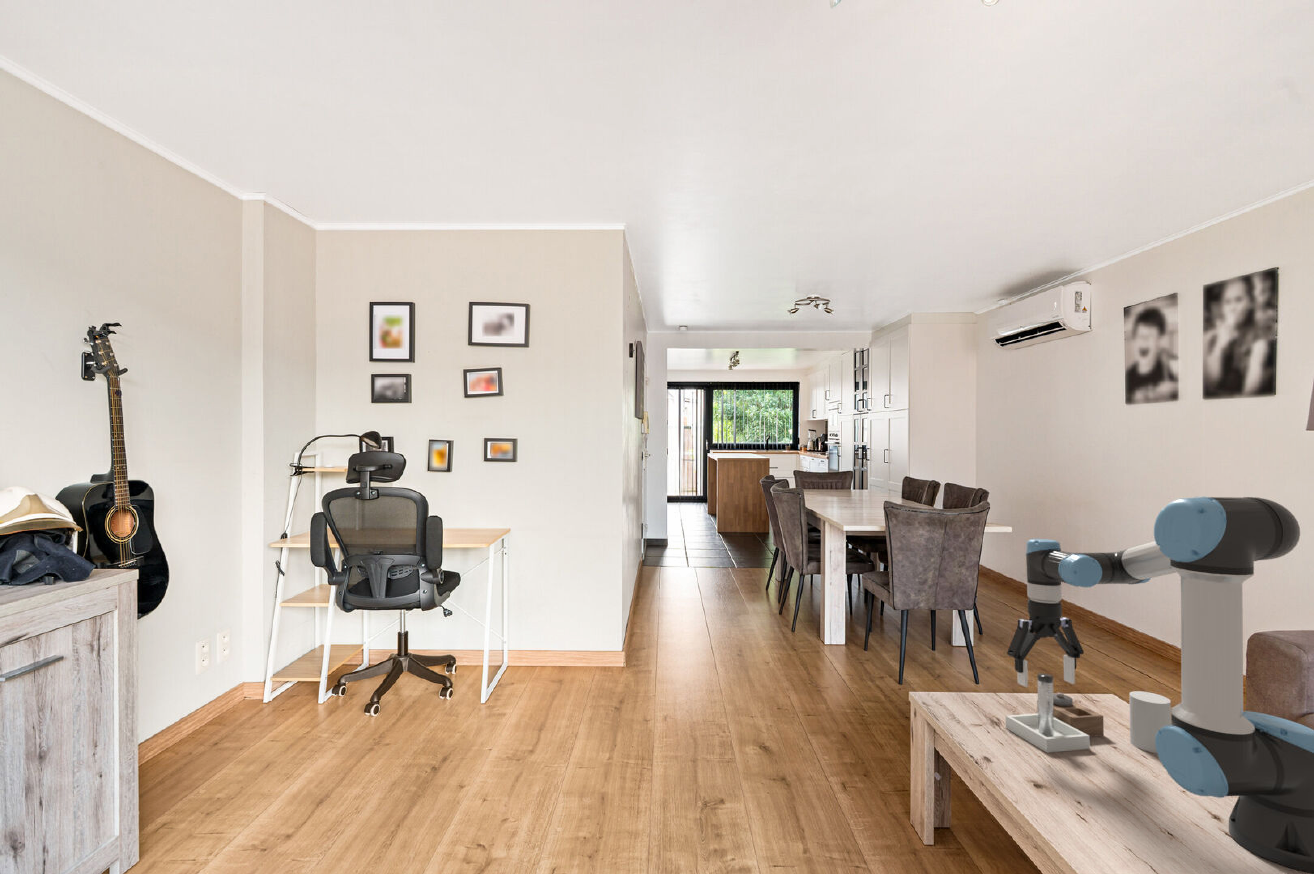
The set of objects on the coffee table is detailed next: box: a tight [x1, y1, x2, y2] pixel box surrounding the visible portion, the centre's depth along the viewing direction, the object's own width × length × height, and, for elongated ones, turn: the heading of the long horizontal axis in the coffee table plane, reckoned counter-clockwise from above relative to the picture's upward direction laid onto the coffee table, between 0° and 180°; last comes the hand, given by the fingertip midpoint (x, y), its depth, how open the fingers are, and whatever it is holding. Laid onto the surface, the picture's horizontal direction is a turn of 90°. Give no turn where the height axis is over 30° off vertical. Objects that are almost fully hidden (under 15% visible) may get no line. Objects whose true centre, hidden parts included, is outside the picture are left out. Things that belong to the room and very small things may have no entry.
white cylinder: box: [1128, 690, 1172, 754], centre depth 157 cm, size 8×8×12 cm
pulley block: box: [1036, 691, 1105, 737], centre depth 168 cm, size 12×9×8 cm
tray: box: [1005, 713, 1091, 753], centre depth 161 cm, size 14×12×3 cm
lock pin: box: [1037, 673, 1054, 737], centre depth 162 cm, size 3×3×15 cm
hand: (1046, 683), depth 161 cm, fingers open, 13 cm apart
